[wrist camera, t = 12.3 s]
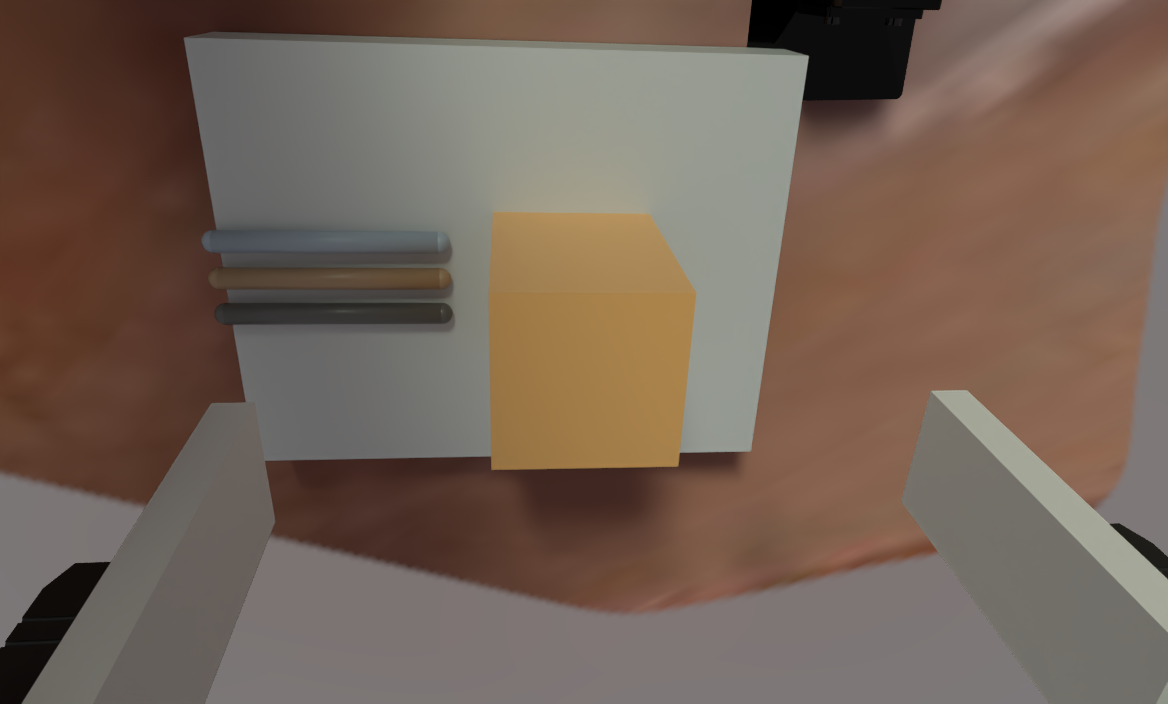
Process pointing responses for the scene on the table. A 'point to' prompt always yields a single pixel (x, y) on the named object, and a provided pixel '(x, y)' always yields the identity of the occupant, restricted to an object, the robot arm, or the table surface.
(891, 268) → the table surface
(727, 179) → the junction plate
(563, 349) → the cardboard-colored cube
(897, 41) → the black power adapter
